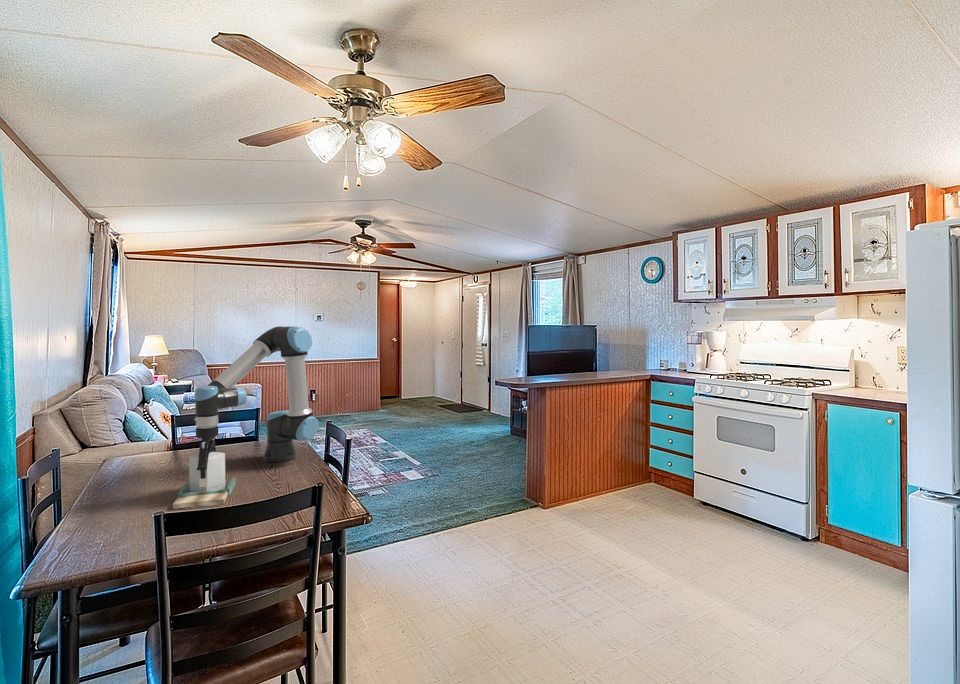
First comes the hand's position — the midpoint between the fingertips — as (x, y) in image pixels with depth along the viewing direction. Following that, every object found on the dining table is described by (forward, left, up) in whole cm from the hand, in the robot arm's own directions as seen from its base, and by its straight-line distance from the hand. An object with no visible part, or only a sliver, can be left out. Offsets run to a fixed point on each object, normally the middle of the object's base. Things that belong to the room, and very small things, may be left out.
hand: (207, 480), depth 181 cm
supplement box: (0, 0, -5) cm, 5 cm away
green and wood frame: (0, +4, -5) cm, 6 cm away
